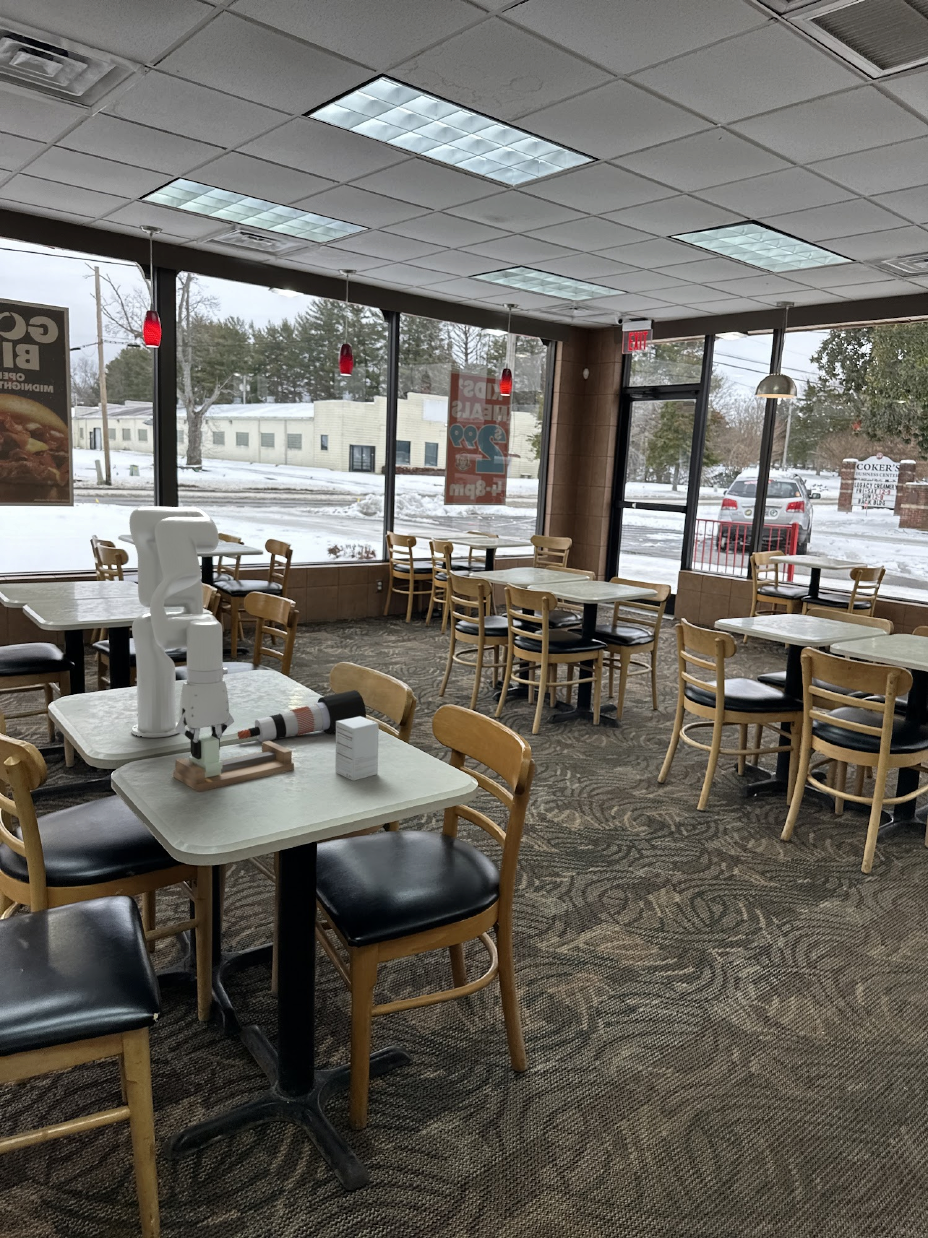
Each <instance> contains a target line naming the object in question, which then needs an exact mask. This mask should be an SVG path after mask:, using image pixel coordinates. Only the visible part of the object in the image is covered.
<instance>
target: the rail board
mask: <svg viewBox="0 0 928 1238" xmlns="http://www.w3.org/2000/svg"><path fill="white" fill-rule="evenodd" d="M292 753H293V751H292V750H290V749H289V748H286V747H284V746H282V745H279V744H277V743H275V742H273V741H272V740H268V741H264V742H261V751H259V752H254V753H250V754H249V753H248V754H244V755H241V756H234V757H231V758H227V759H221V760H220V759H219V761H221V762H222V769H221V774H220V775H216V776H211V777H207V778H205V769H203V768H201V767H199V766H197V765H196V764H194V763H192V762H190V761H189V759H186V758H185V757H181V758H176V759H175V760H174V761H175V763H174V764H175V766H174V767H175V769H174V770H173V771H172V772H173V777H174V778H175V779H176V780H178V781H180V782H182V783H183V784H185V785H187V786H188V787H190V788H191V789H193V790H195V791H196V792H199V793H200V792H205V791H209V790H211V789H216V788H221V787H224V786H229V785H234V784H239V783H242V782H247V781H251V780H256V779H260V778H263V777H268V776H272V775H277V774H279V773H280V774H282V773H285V772H288V771H293V770H294V769H295V763H294V762H292V759H293V757H292V756H293V754H292Z"/></svg>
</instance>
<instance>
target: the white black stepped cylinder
mask: <svg viewBox="0 0 928 1238" xmlns="http://www.w3.org/2000/svg"><path fill="white" fill-rule="evenodd" d="M359 716H361V717H364V718H366V719H367V709H366V704H365V700H364V698H363V696H362V695H361V693H360V691H358V690H356V689H354V690H349V691H343V692H341V693H339V692H338V693H335V694H331V695H324V696H321V697H319V698H318V700H317V703H314V704H311V705H310V704H309V705H306V706H303V707H297V708H293V709H290V710H289V711H285V712H284V711H283V712H281V713H277V714H274V715H273V714H272V715H269V716H267V717H261V718H257V719H256V720H255V721H254V727H251V728H249V727H248V729H243V730H239V731H237V737H238V739H239V740H244V739H248V738H253V737H256V738H257V740H258V742H260V743H262V742H265V741H272V740H278V739H281V738H282V739H283V738H289V737H292V736H301V735H305V734H309V733H313V732H314V733H315V732H317V731H318V732H321V731H323V732H325V733H326V734H328V735H329V734H332V733H333V734H334V733H336V721H340V720H345V719H350V718H355V717H359Z"/></svg>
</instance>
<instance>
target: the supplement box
mask: <svg viewBox="0 0 928 1238" xmlns="http://www.w3.org/2000/svg"><path fill="white" fill-rule="evenodd" d="M379 730H380V729H379V722H377V721H375V720H372V719H369V718H367V717H366V718H364V717H361V716H359V717H355V718H350V719H345V720H340V721H336V732H335V769H334V771H335V772H336V774H338V775H340V776H341V777H345V778H346V779H349V780H350V781H353V782H354V781H357V780H361V779H365V778H368V777H372V776H377V775H378V774H379V732H380V731H379Z"/></svg>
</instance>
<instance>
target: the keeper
mask: <svg viewBox="0 0 928 1238" xmlns="http://www.w3.org/2000/svg"><path fill="white" fill-rule="evenodd" d="M211 735H212V734H209V733H207V732H205V733H200V734H199V741H200V742H201V759H196V758H194V757H193V756H192V755H189V756H188V761H190V762H192V763H194V764H196V765H197V766H199V767H201V768H203V769H205V778H207V777H211V776H216V775H220V774H221V769H222V762H221V761H220V750H219V739H217V738H215V737H213V736H211Z"/></svg>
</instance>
